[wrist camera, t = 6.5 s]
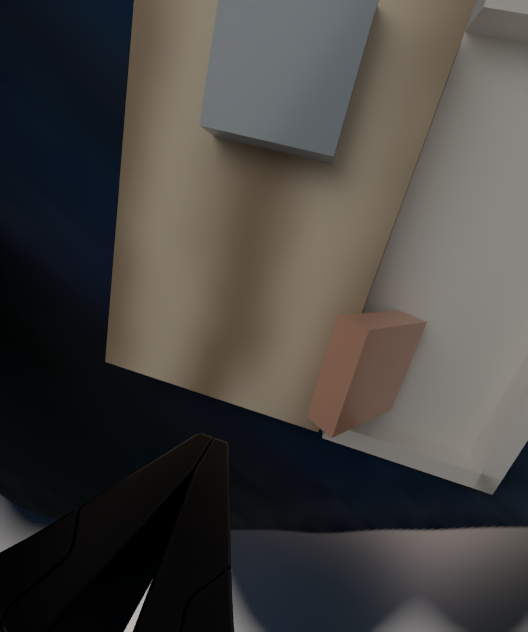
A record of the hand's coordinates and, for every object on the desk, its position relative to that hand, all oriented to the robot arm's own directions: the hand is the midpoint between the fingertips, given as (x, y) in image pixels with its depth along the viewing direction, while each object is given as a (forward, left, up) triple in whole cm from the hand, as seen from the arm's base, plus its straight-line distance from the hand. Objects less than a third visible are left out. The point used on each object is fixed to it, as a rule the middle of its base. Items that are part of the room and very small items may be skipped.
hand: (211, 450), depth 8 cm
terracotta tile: (+4, +1, -8) cm, 9 cm away
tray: (+9, +5, -10) cm, 14 cm away
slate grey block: (-2, +11, -7) cm, 13 cm away
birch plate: (-2, +5, -10) cm, 12 cm away
